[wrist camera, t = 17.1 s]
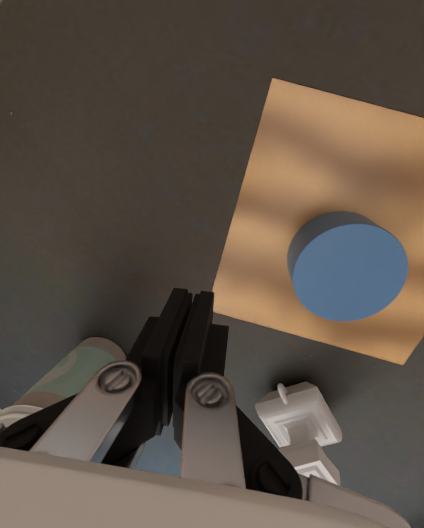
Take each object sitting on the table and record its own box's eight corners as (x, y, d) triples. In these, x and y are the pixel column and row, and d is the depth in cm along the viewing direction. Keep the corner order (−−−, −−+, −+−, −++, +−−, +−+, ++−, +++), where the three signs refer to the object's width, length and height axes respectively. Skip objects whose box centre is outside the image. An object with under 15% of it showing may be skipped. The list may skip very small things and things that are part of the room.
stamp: (339, 417, 31) (368, 506, 24) (284, 431, 33) (294, 518, 26) (307, 359, 29) (327, 437, 21) (248, 378, 31) (248, 456, 23)
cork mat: (272, 78, 20) (272, 77, 20) (551, 152, 20) (553, 152, 19) (206, 308, 28) (206, 309, 28) (401, 363, 28) (403, 365, 28)
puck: (312, 196, 22) (324, 206, 19) (405, 231, 23) (433, 247, 19) (272, 280, 26) (275, 301, 22) (353, 309, 26) (369, 335, 22)
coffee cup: (97, 312, 30) (9, 411, 19) (153, 364, 32) (102, 482, 21) (52, 349, 33) (-47, 453, 22) (106, 395, 35) (40, 511, 24)
